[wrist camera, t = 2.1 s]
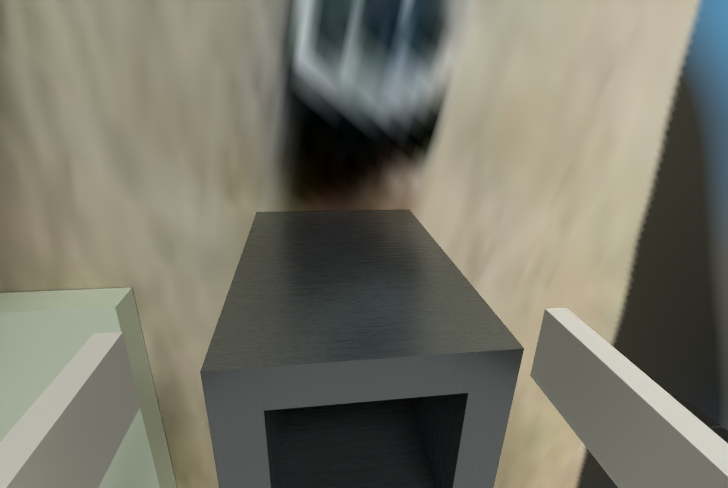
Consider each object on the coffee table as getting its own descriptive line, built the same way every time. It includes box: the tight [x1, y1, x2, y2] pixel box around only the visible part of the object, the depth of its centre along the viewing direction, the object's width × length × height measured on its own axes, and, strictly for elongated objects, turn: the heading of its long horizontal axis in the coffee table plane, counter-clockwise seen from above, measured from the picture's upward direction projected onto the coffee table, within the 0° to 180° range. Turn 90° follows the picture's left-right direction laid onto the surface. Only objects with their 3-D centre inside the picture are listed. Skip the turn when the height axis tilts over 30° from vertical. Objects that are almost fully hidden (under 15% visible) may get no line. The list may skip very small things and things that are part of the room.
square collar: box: [200, 210, 524, 488], centre depth 14 cm, size 12×6×9 cm, turn 178°
